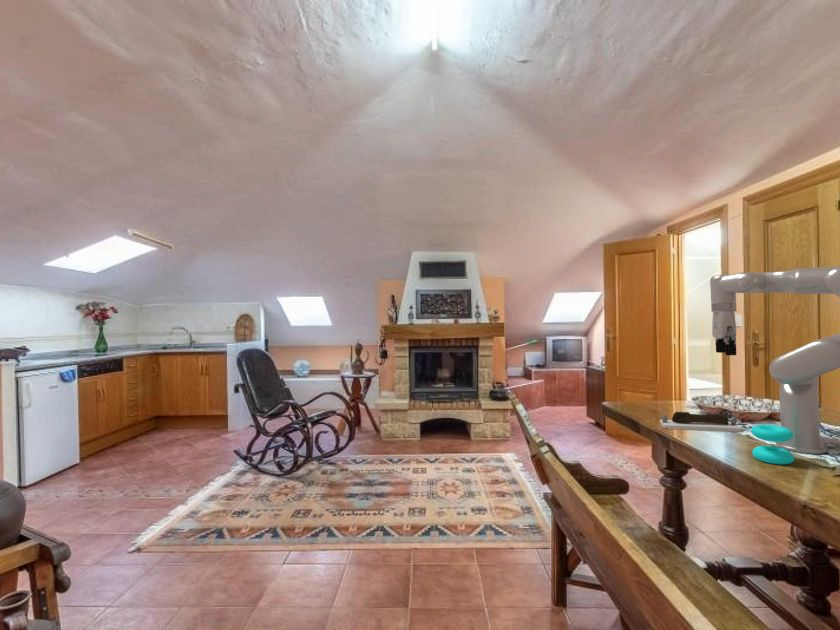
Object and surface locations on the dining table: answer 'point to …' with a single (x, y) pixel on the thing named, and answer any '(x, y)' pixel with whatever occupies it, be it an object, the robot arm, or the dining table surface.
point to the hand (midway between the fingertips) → (725, 353)
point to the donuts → (772, 452)
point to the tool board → (701, 425)
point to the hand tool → (699, 418)
